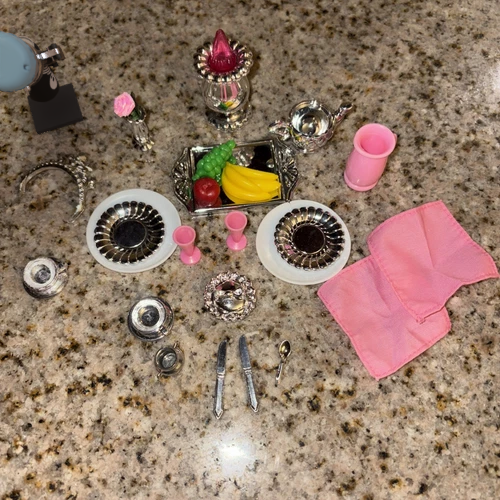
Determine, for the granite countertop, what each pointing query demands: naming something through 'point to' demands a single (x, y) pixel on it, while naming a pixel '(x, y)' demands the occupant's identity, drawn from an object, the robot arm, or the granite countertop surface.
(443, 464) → the granite countertop surface
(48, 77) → the beverage can
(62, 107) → the mat
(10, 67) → the robot arm
